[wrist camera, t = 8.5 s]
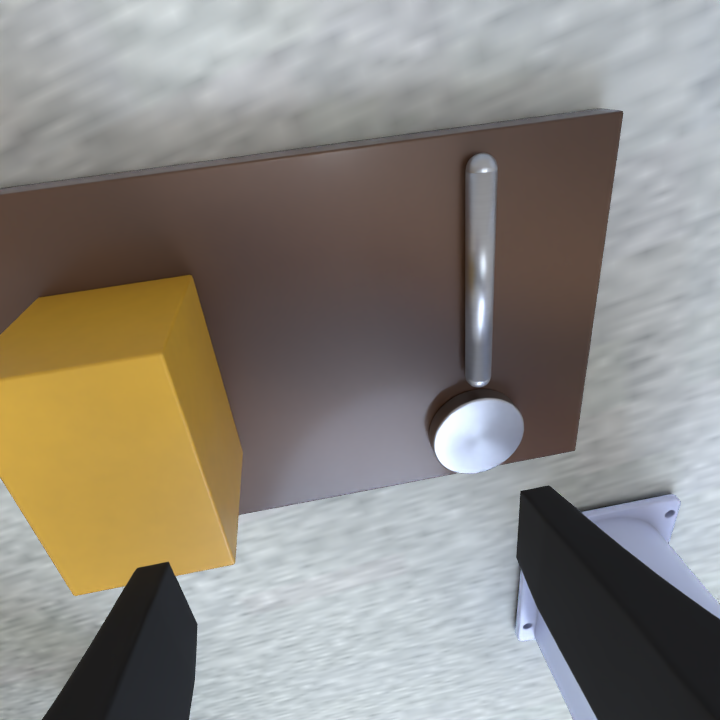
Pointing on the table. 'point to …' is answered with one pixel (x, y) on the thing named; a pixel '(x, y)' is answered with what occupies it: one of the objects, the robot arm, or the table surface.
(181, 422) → the block
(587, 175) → the board
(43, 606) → the table surface
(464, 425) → the silver rod with disc
